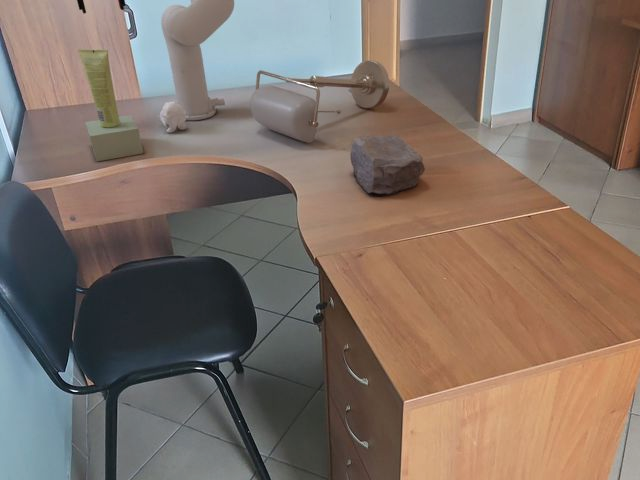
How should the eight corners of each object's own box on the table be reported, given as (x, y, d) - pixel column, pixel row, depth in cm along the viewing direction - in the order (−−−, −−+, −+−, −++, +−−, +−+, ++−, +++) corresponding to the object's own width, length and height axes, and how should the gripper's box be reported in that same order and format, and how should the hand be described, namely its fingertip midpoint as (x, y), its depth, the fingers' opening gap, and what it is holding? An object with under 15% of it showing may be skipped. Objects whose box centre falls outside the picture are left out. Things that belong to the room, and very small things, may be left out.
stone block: (436, 155, 135) (379, 151, 129) (425, 202, 140) (369, 201, 134) (403, 134, 148) (349, 130, 142) (393, 177, 153) (341, 175, 147)
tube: (118, 120, 161) (100, 45, 150) (125, 124, 158) (107, 49, 147) (97, 124, 158) (77, 49, 147) (104, 129, 155) (84, 52, 144)
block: (136, 138, 168) (130, 114, 164) (143, 153, 159) (138, 128, 155) (92, 146, 164) (85, 121, 160) (96, 161, 155) (89, 136, 151)
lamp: (335, 123, 200) (237, 125, 171) (345, 54, 191) (244, 42, 162) (395, 143, 185) (299, 149, 156) (409, 68, 176) (310, 59, 147)
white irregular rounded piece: (163, 105, 165) (149, 99, 174) (170, 135, 169) (156, 127, 178) (184, 101, 168) (169, 95, 177) (190, 130, 172) (176, 123, 181)
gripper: (50, -59, 143) (70, 16, 153) (124, -63, 149) (139, 10, 159) (48, -62, 149) (67, 11, 158) (120, -65, 155) (134, 5, 165)
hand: (103, 10), depth 159 cm, fingers open, 9 cm apart
